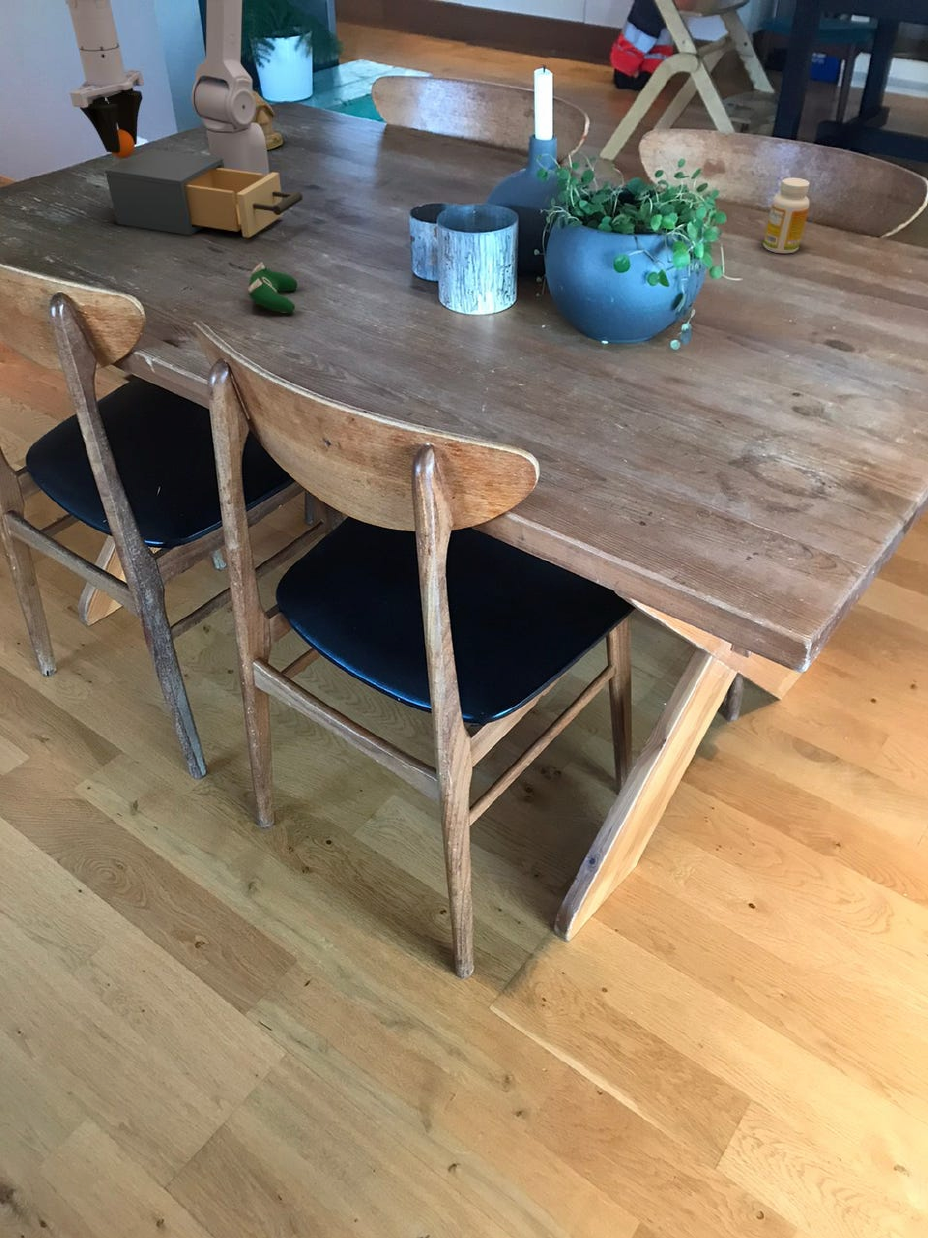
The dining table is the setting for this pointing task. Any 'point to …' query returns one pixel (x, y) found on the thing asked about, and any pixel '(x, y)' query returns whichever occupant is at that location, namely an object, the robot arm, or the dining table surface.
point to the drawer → (237, 200)
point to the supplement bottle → (787, 216)
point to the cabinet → (157, 189)
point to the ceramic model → (266, 122)
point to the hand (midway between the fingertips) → (121, 147)
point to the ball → (125, 144)
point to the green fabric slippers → (271, 289)
